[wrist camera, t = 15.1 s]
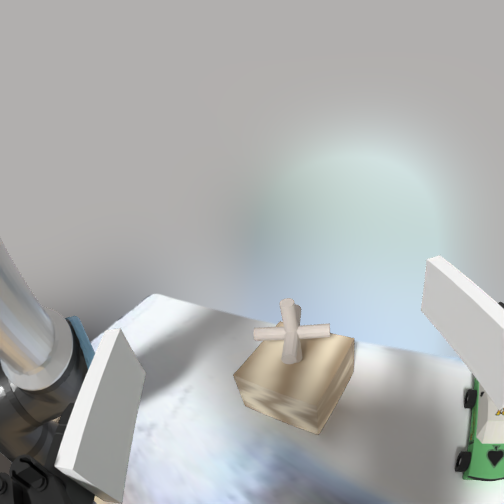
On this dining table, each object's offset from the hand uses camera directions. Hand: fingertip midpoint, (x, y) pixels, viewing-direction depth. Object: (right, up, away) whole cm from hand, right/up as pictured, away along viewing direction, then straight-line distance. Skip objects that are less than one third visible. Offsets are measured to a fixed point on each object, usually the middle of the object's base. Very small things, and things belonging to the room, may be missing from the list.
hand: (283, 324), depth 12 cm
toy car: (+33, -23, +14) cm, 42 cm away
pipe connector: (+5, -12, +29) cm, 32 cm away
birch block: (+7, -19, +33) cm, 38 cm away
